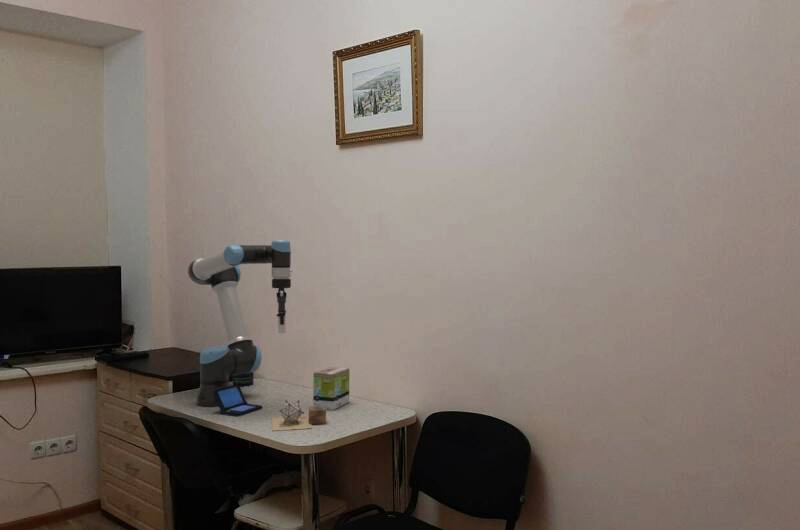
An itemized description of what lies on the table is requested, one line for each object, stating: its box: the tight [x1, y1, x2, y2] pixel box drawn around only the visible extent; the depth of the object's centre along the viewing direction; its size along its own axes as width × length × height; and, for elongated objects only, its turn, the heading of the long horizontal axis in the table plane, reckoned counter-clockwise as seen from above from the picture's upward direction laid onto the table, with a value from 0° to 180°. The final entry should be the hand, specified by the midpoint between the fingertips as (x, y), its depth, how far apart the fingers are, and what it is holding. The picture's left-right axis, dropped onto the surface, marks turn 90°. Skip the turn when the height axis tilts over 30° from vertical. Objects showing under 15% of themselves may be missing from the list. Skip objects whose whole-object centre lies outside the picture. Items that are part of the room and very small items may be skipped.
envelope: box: [271, 415, 313, 432], centre depth 242 cm, size 14×18×1 cm
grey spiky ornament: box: [278, 400, 305, 423], centre depth 242 cm, size 9×8×10 cm
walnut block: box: [308, 406, 327, 425], centre depth 244 cm, size 6×6×5 cm
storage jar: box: [232, 372, 254, 388], centre depth 315 cm, size 10×10×15 cm
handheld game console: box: [213, 384, 263, 417], centre depth 263 cm, size 16×13×9 cm
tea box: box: [312, 366, 350, 411], centre depth 271 cm, size 15×10×15 cm, turn 161°
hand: (281, 330), depth 265 cm, fingers open, 13 cm apart
